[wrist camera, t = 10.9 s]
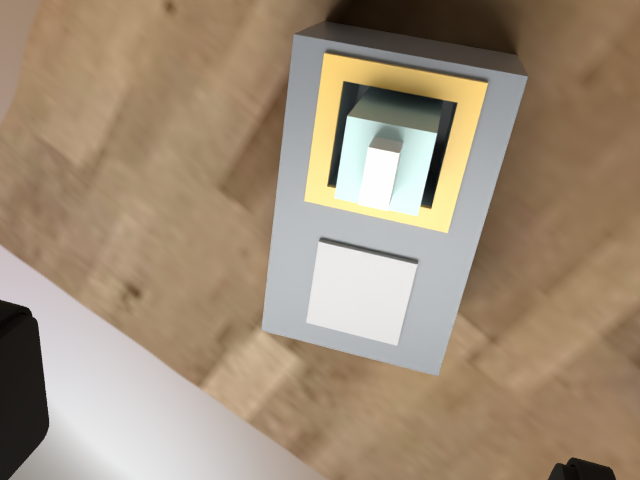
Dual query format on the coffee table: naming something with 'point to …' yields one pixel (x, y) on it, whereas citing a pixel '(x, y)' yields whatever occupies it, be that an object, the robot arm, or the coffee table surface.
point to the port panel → (374, 224)
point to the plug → (388, 150)
